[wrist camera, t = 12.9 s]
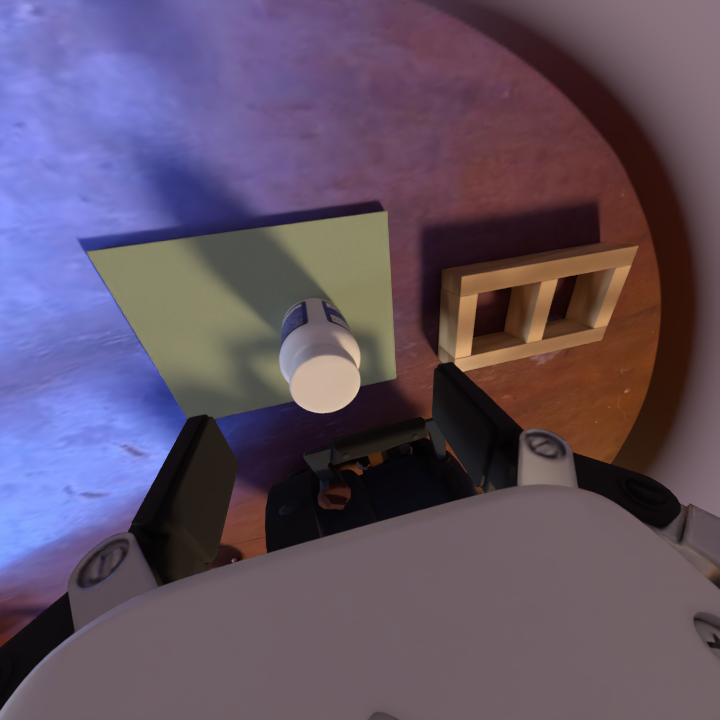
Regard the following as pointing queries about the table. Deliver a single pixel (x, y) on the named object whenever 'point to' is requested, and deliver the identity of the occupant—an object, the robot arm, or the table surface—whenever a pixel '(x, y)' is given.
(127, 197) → the table surface
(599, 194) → the table surface
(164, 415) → the table surface
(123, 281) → the mat
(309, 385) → the pill bottle
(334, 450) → the flashlight
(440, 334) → the rack
